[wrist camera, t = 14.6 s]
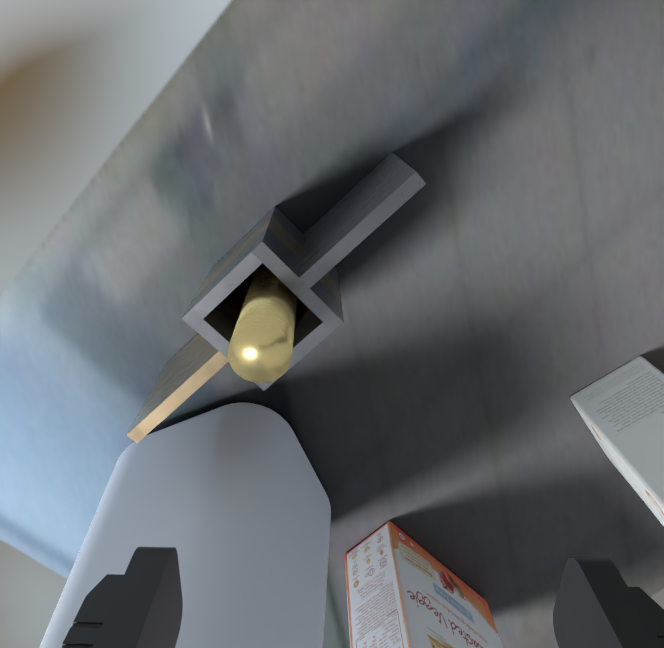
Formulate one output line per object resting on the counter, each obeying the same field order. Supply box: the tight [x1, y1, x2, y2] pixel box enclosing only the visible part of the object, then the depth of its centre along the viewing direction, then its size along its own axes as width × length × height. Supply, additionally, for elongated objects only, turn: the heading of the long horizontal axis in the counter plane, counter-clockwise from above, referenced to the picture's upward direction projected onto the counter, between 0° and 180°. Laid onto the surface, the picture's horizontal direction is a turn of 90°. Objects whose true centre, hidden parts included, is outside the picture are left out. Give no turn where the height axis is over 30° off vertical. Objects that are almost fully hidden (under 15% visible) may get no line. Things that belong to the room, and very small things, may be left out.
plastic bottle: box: [39, 403, 331, 648], centre depth 33 cm, size 15×15×28 cm
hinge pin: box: [228, 263, 297, 383], centre depth 32 cm, size 3×3×14 cm
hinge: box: [127, 152, 426, 443], centre depth 34 cm, size 22×6×10 cm, turn 133°
